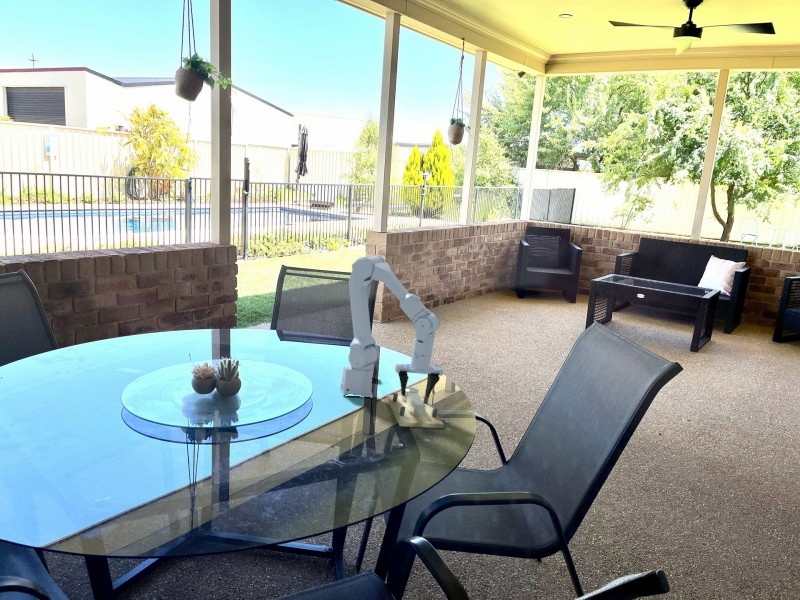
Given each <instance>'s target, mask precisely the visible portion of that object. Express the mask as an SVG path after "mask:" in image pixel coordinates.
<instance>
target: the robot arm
mask: <svg viewBox="0 0 800 600" xmlns="http://www.w3.org/2000/svg"><path fill="white" fill-rule="evenodd" d="M351 268H352V270H351V272H350V276H349V279H348V291H349V300H350V301H349V302H350V310H351V311H350V312H351V320H352V322H351V323H352V330H353V339H352V341H351V342H350V345H349V354H348V362H349V364H348V365H346V364H345V365H344V366H343V370H342V377H341V384H340V389H341V393H342V392H343V393H342V396H343V395H348V394H353V395H361V396H364V395H366V396H365V397H370V398H369V399H372V398H374V395H373V393H372V390H371V389H372V385H373V384H372V382H373V379H372V377H373V370H374V365H375V363H376V362H377V361H378V360H379V358H380V350H379V349H378V347H377V343H376V339H375V338H374V337H373V336H372V331H371V321H370V319H371V318H370V312H369V311H370V310H369V301H368V289H367V287H368V285H369V284H370V283H371V282H372V281H373V280H374V281H378V282H382V283H383V284H384V285H385V286H386V288H388V289H389V291H390V292H391V293H392V294H393V295H394V296H395V297H396V298H397V299H398V300H399V307H400V308H401V310H402V311H403V312H404V314H405V315H406V316H407V317H408V318H409V320H411V322H412V323H413V328H414V330H415V331H414V332H415V335H414V336H415V337H414V343H413V349H412V355H411V360H410V363H403V364H401V363H399V364H398V363H396V364H395V368H394V371H395V372H396V373H397V374H398V378H399V382H400V394H401V395H402V396H405V392H406V387H407V385H408V381H409V375H408V374H420V375H421V374H423V375H427V381H426V388H425V392H424V393H425V394H424V395H426V397H429V398H430V395H431V392H433V389H434V388H435V386H436V384H438V382H439V381H440V378H441V377H440V376H443V375H444V374H443V373H444V369H443V367H441V366H440V367H439V366H433V365H431V360H432V355H433V349H434V343H435V336H436V331H437V330H439V327H440V319H439V317H438V315H437V314H436V313H434V312H431V310H430V309H428V308H427V307H426V306H425V305H424V304H423V303H422V302H421V297H420V296H419V295H416V294H414V293H409V292H408V290H407V289H406V288H405V286H404V284H402V282H401V281H400V280H399V279H398V277H397V275H395V273H394V271H393V270H392V269H391V267H390V264H389V263H388V262H387V261H386V260H385V258H383V256H380V255H378V254H376V255H372V256H361V257H359V258H357V259H356V260H355V261H354V262H353V263H352V264H351ZM365 397H364V398H365Z"/></svg>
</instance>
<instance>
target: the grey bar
mask: <svg viewBox="0 0 800 600" xmlns="http://www.w3.org/2000/svg"><path fill="white" fill-rule="evenodd" d="M420 397H421V396H420V395H419V389H418V388H416V387H411V386H406V392H405V396H402V401H404V402H406V404H407V406H408V408H409V409H410V411H411V413H412V415H413V416H423V415H424V409H425V404H424V403H423V401H422V399H421V398H420Z"/></svg>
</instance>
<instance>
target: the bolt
mask: <svg viewBox="0 0 800 600" xmlns="http://www.w3.org/2000/svg"><path fill="white" fill-rule="evenodd" d="M377 374H378V369H377V367H376V365H375V364H374V370H373V377H372V378H373V379H375V378H376V377H377Z"/></svg>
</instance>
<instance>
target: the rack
mask: <svg viewBox="0 0 800 600" xmlns="http://www.w3.org/2000/svg"><path fill="white" fill-rule="evenodd" d="M420 398H421V399H422V401H423V403H424V404H425V409H424V415H423V416H413V415H412V413H411V411H410V409H409V408H408V406H407V404H406V402H404V401H402V394H401V395H399V393H397V392H393V394H386V400H387V403H388V404H389V407H390V408H391V411H392V413H393V414H394V415H393V416H394V417H395V419H396V421H397V423H398V426H399V427H411V428H415V427H416V428H431V429H432V428H434V429H437V428H438V429H443V428H444V426H445V425H444V422H443V421H442V419H441V418H440V416H439V415H438V411H439V410H438V408H437V407H433V406H432V405H433V404H431V403H430V401H429V398H430V396H429V397H426V395H425V394H424V396H420Z"/></svg>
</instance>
